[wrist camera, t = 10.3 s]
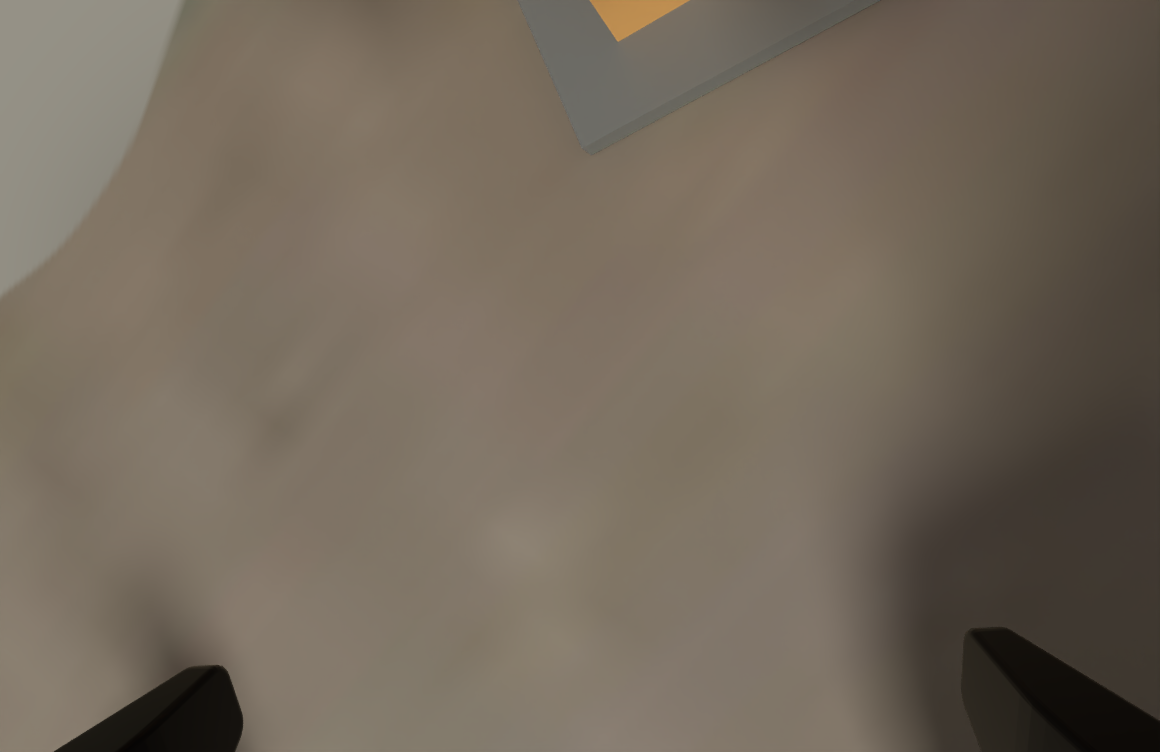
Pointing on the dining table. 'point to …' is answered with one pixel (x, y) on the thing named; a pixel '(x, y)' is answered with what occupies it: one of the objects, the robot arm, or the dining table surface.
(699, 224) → the dining table surface
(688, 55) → the plate
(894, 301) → the dining table surface
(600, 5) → the domed orange pillar
